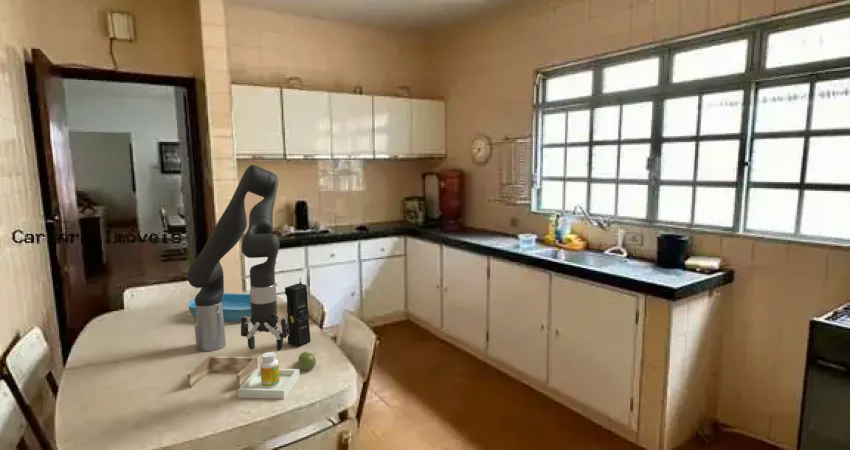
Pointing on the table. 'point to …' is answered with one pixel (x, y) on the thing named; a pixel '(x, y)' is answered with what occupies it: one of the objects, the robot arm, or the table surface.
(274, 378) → the supplement bottle
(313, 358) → the pear
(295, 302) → the portable radio
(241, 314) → the casserole dish
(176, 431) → the table surface
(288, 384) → the plastic tray
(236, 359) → the frame
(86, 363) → the table surface
